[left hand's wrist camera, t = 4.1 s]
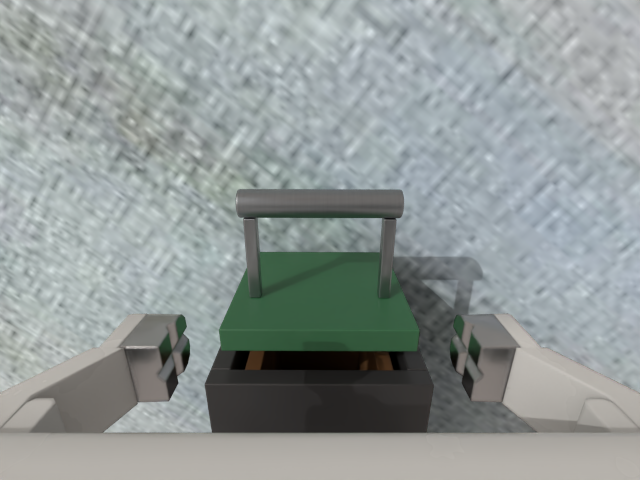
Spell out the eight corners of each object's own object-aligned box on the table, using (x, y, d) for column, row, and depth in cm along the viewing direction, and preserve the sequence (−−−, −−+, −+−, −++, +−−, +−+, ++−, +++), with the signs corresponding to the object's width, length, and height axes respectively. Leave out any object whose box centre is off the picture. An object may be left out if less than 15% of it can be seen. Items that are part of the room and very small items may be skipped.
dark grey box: (250, 273, 25) (203, 384, 15) (390, 274, 25) (434, 385, 15) (264, 459, 33) (239, 617, 23) (374, 460, 33) (397, 618, 23)
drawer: (247, 167, 22) (202, 207, 13) (392, 168, 22) (436, 207, 13) (267, 442, 30) (248, 567, 22) (371, 443, 30) (389, 567, 22)
